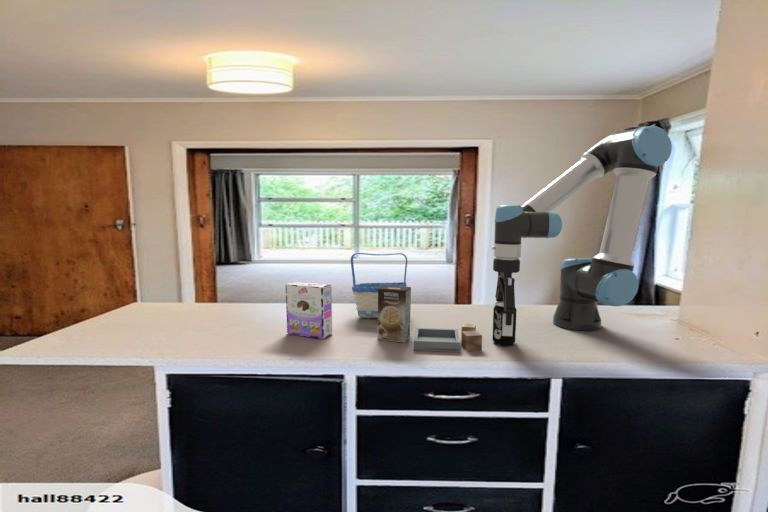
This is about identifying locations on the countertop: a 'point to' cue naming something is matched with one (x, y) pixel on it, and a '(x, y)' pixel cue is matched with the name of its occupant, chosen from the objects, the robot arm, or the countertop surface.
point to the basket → (370, 292)
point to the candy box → (309, 309)
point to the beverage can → (498, 326)
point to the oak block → (468, 327)
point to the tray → (436, 340)
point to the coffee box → (394, 313)
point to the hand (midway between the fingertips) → (503, 329)
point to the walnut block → (471, 340)
